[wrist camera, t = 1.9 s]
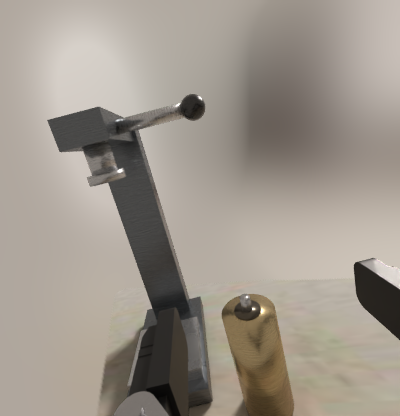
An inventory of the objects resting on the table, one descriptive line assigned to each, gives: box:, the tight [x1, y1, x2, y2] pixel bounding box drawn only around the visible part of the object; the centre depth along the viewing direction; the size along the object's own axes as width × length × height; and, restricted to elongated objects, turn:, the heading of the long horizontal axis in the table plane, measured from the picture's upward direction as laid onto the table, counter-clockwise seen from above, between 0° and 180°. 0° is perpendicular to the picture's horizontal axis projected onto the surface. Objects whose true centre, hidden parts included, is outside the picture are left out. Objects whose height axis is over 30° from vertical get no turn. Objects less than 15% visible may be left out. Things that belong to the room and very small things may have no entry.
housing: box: [222, 294, 294, 416], centre depth 25 cm, size 5×5×14 cm
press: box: [48, 94, 213, 407], centre depth 32 cm, size 18×18×34 cm
